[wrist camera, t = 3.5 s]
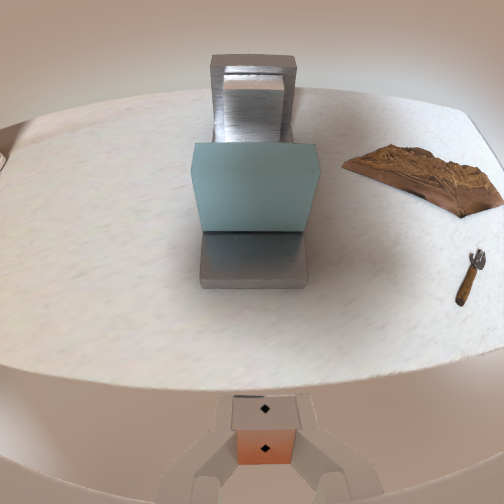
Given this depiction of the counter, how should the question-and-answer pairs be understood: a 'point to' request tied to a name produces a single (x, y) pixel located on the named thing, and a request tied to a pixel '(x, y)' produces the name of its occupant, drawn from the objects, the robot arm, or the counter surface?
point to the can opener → (470, 277)
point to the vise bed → (253, 242)
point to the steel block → (253, 107)
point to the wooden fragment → (430, 178)
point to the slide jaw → (254, 185)
